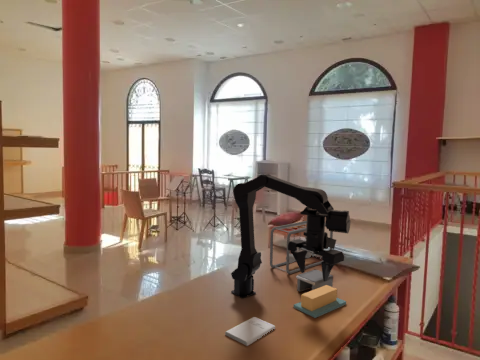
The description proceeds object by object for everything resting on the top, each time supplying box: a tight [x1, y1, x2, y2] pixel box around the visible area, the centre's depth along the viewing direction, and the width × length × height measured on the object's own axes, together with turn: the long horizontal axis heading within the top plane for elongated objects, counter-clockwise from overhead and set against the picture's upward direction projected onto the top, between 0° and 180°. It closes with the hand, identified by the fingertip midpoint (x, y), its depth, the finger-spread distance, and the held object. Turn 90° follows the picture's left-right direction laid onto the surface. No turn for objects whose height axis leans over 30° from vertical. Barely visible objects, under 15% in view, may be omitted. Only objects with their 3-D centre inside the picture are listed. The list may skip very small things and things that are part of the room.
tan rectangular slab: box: [300, 285, 338, 311], centre depth 123 cm, size 13×4×4 cm, turn 130°
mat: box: [293, 297, 347, 319], centre depth 124 cm, size 16×9×1 cm, turn 129°
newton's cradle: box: [269, 220, 334, 275], centre depth 164 cm, size 30×10×18 cm, turn 130°
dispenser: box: [295, 269, 334, 293], centre depth 135 cm, size 11×8×6 cm
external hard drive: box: [224, 316, 276, 347], centre depth 106 cm, size 2×8×12 cm
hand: (313, 276), depth 120 cm, fingers open, 9 cm apart
